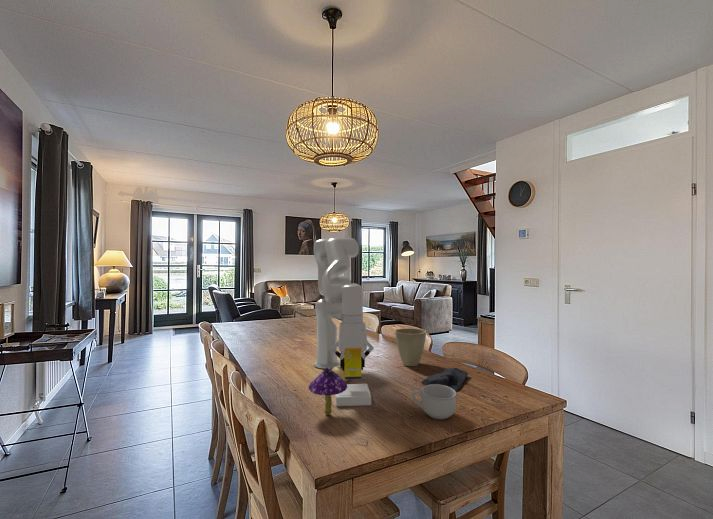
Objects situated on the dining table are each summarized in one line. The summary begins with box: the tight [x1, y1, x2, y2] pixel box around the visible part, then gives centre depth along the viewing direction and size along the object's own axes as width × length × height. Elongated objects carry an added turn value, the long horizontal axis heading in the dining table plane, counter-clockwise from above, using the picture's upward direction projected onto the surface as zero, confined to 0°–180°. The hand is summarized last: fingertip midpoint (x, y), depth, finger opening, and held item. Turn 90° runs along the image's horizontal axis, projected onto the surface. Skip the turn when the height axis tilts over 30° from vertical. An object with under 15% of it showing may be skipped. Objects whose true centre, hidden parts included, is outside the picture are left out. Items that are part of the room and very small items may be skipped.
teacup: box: [410, 384, 457, 420], centre depth 109 cm, size 14×11×8 cm
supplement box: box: [344, 348, 362, 380], centre depth 121 cm, size 6×6×11 cm
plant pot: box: [394, 327, 427, 367], centre depth 163 cm, size 15×15×16 cm
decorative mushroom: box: [308, 368, 347, 416], centre depth 109 cm, size 12×12×15 cm
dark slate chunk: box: [421, 367, 469, 392], centre depth 140 cm, size 15×22×5 cm
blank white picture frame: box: [334, 383, 372, 407], centre depth 121 cm, size 12×12×3 cm
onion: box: [331, 365, 349, 383], centre depth 139 cm, size 8×8×7 cm
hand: (352, 369), depth 121 cm, fingers closed on supplement box, 6 cm apart
